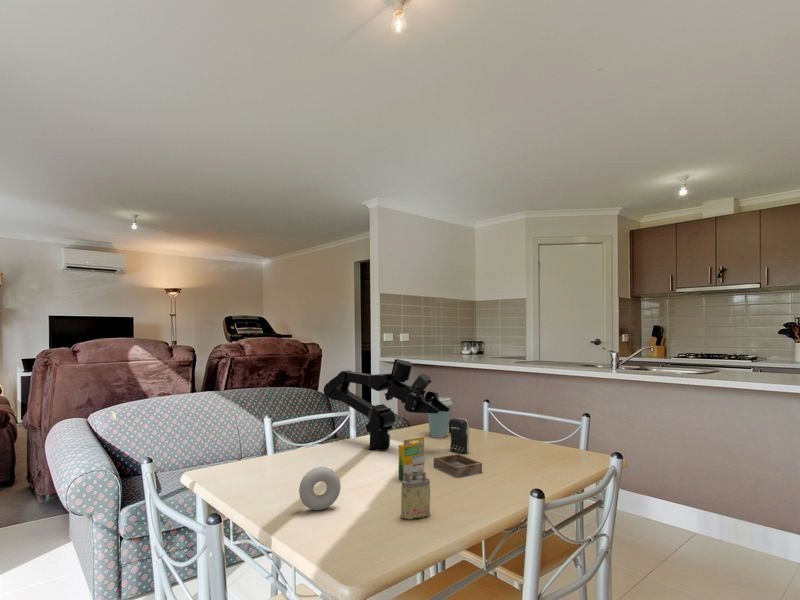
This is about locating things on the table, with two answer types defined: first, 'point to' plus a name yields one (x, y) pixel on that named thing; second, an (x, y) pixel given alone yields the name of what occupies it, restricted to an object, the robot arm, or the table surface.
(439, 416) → the disposable coffee cup
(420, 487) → the lighter
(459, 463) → the tray
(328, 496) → the donut
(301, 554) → the table surface
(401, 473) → the crayon box
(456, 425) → the black upright block
